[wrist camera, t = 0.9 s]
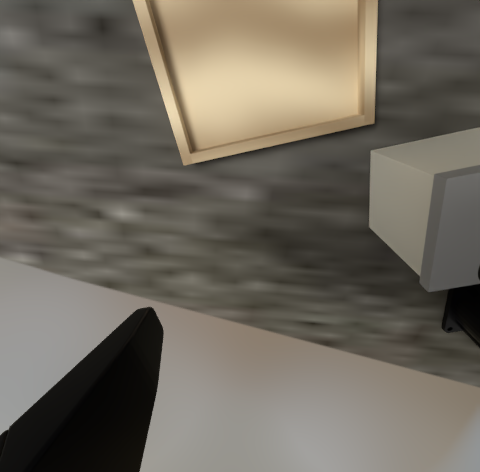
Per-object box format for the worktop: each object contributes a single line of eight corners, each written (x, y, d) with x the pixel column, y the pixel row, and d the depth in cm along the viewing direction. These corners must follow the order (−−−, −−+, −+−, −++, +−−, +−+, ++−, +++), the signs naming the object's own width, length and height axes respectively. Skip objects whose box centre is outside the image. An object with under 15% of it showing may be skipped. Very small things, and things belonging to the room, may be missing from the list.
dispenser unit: (491, 205, 20) (619, 260, 14) (366, 229, 21) (428, 292, 14) (514, 116, 17) (693, 129, 11) (367, 148, 18) (446, 178, 11)
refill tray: (363, 121, 17) (374, 123, 16) (187, 160, 18) (183, 165, 17) (366, -167, 12) (383, -200, 10) (113, -88, 13) (98, -110, 11)
